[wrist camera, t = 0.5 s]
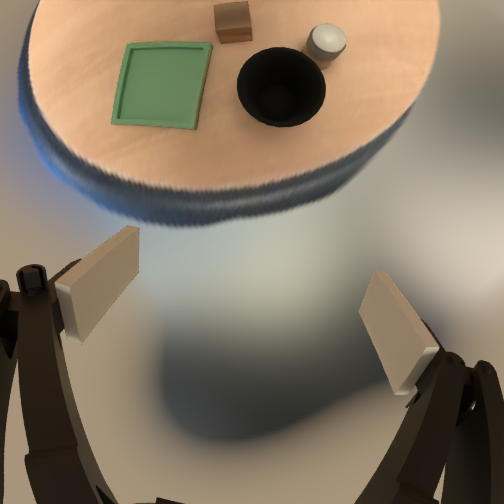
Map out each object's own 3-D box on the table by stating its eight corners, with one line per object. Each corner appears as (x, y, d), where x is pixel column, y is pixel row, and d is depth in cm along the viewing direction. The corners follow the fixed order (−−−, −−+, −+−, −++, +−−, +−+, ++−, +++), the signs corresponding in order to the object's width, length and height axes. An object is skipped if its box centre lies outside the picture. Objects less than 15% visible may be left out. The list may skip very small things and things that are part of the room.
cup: (276, 144, 34) (281, 145, 23) (233, 104, 32) (218, 86, 21) (318, 105, 32) (343, 89, 21) (276, 65, 30) (281, 32, 19)
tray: (131, 46, 29) (126, 43, 27) (212, 46, 29) (210, 42, 28) (116, 124, 33) (110, 124, 32) (196, 129, 34) (193, 129, 32)
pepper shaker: (304, 40, 28) (313, 17, 21) (334, 48, 28) (349, 28, 21) (299, 65, 30) (308, 47, 23) (329, 73, 30) (345, 57, 23)
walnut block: (219, 20, 28) (213, 5, 23) (250, 17, 27) (247, 1, 23) (221, 43, 29) (215, 30, 24) (252, 40, 29) (250, 26, 24)
